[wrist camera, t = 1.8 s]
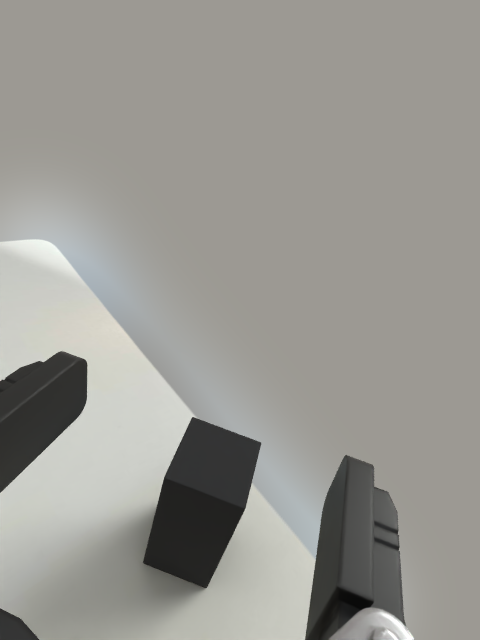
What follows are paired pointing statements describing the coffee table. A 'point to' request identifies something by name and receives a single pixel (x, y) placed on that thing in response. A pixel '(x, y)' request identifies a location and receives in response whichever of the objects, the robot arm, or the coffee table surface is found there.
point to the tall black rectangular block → (201, 501)
